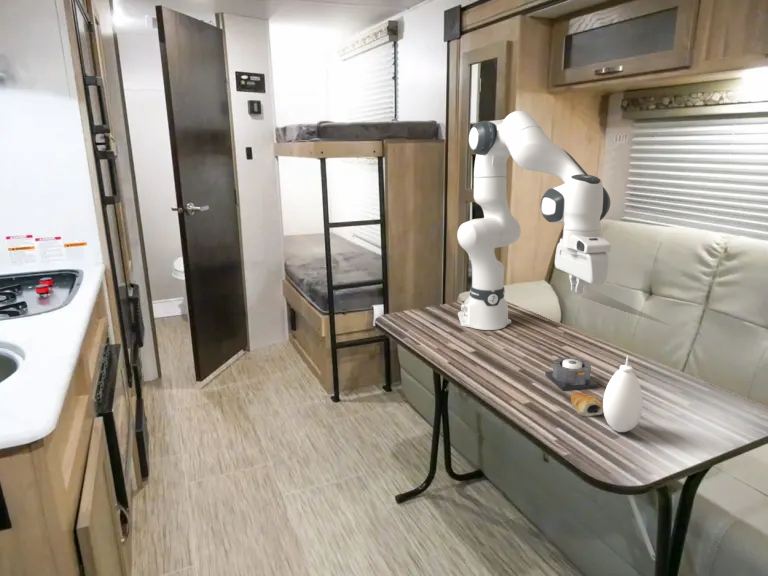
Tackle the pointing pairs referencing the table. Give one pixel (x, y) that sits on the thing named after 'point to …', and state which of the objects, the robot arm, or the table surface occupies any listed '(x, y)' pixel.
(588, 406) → the pastry
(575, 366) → the cylinder with grey knob
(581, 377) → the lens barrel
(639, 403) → the white air blower bulb
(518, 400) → the table surface
